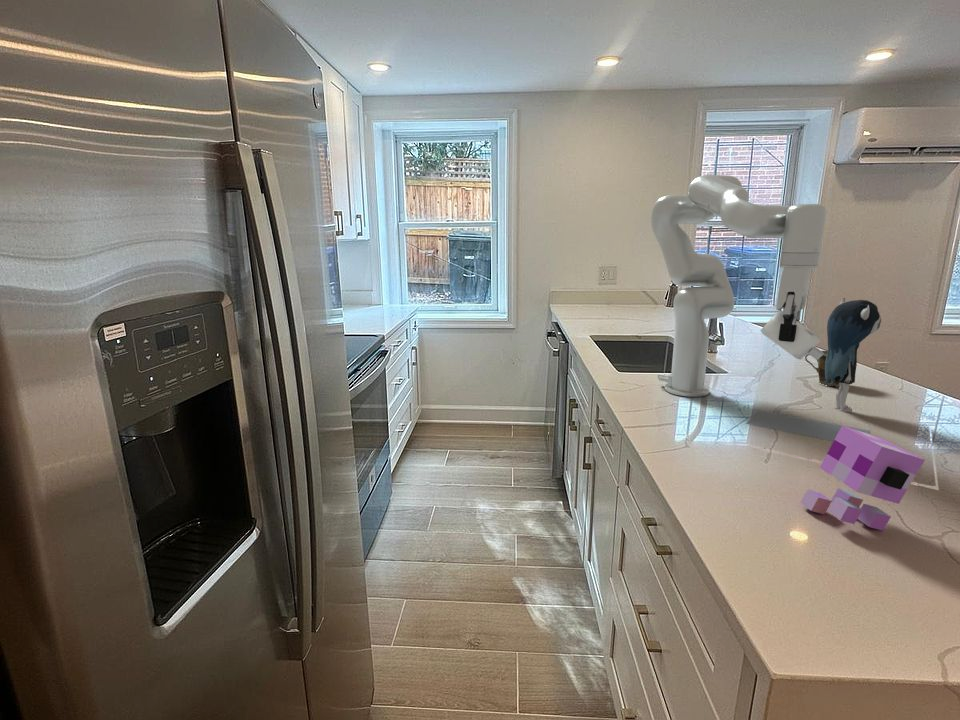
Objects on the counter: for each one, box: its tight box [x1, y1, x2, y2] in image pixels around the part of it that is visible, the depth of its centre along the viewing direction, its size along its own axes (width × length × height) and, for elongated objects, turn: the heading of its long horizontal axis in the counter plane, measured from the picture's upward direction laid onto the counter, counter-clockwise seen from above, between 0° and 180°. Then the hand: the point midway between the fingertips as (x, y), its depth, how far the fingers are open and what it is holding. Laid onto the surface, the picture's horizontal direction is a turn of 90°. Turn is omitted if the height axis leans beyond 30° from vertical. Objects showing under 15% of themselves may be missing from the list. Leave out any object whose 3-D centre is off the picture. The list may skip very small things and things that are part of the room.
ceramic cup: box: [804, 350, 840, 388], centre depth 159 cm, size 13×10×10 cm
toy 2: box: [800, 425, 925, 531], centre depth 82 cm, size 11×8×15 cm
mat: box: [746, 409, 870, 442], centre depth 123 cm, size 24×13×1 cm, turn 50°
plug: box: [760, 310, 824, 361], centre depth 118 cm, size 13×4×6 cm
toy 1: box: [824, 297, 882, 413], centre depth 131 cm, size 14×11×30 cm
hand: (788, 338), depth 119 cm, fingers closed on plug, 4 cm apart
